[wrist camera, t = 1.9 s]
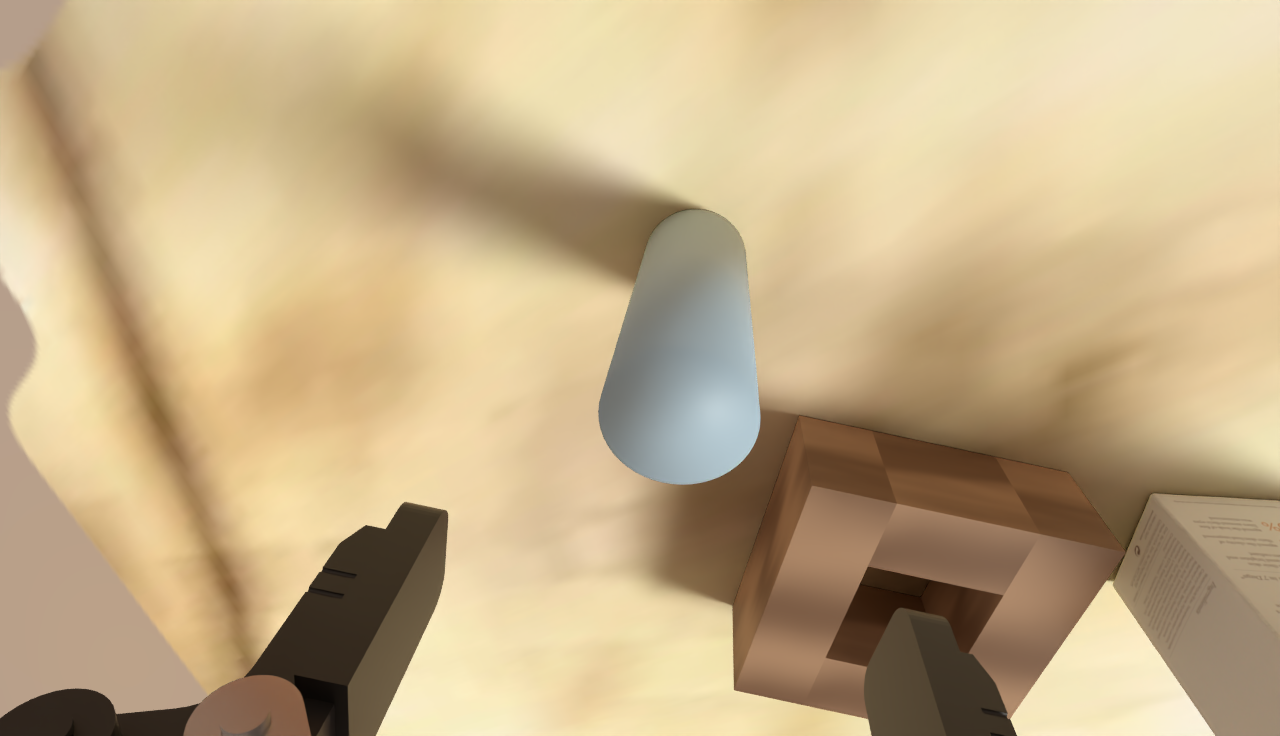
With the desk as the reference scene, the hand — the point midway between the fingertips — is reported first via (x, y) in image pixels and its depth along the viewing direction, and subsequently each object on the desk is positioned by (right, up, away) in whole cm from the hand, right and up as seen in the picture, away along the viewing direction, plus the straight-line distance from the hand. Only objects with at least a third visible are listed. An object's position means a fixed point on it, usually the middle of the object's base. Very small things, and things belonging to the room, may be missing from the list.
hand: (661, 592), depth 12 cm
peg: (+2, +8, +15) cm, 18 cm away
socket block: (+11, -4, +21) cm, 24 cm away
